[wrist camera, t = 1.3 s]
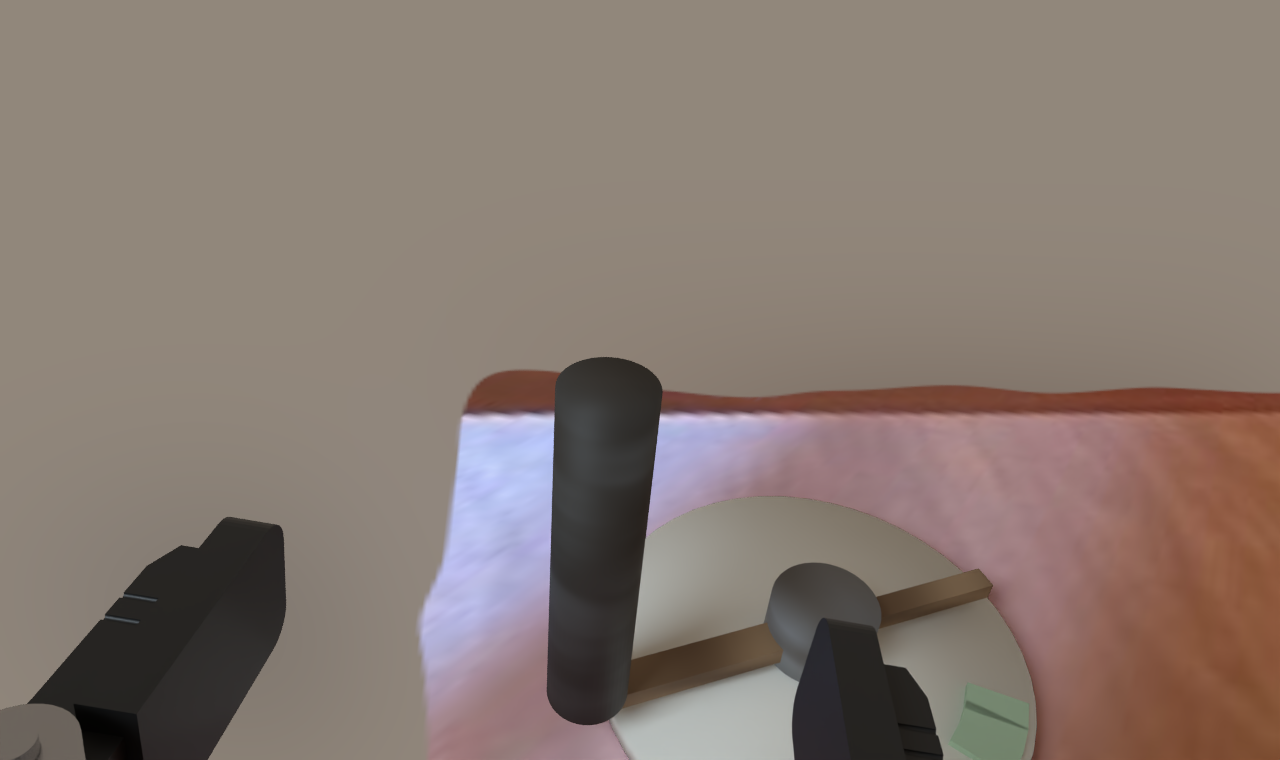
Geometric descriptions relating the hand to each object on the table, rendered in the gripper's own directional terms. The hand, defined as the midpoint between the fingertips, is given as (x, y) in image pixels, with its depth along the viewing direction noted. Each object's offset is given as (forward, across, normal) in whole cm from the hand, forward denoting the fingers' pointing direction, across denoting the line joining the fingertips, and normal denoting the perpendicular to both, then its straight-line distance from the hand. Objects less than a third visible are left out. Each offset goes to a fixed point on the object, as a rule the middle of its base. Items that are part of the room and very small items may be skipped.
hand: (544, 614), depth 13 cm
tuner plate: (+19, -10, +18) cm, 28 cm away
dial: (+18, -9, +17) cm, 26 cm away
